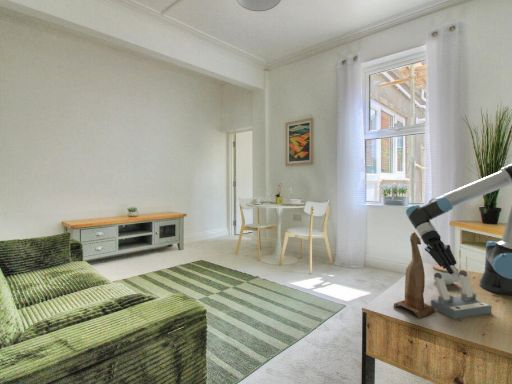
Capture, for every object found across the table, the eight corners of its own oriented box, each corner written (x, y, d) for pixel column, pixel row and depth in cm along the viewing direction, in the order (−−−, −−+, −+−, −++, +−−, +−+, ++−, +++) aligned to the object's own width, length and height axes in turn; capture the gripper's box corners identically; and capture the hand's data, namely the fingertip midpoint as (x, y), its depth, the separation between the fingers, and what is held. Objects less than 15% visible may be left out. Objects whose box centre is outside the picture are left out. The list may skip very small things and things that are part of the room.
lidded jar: (461, 287, 136) (462, 268, 135) (437, 285, 138) (438, 267, 137) (450, 279, 146) (451, 262, 146) (428, 277, 148) (429, 260, 148)
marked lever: (462, 299, 116) (456, 270, 118) (469, 298, 117) (462, 269, 119) (469, 300, 113) (462, 270, 116) (475, 299, 114) (468, 270, 117)
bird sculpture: (436, 313, 110) (440, 233, 109) (419, 319, 104) (423, 235, 103) (408, 302, 120) (412, 229, 119) (392, 307, 114) (395, 230, 113)
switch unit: (431, 307, 115) (431, 293, 114) (466, 302, 119) (466, 289, 119) (453, 319, 105) (454, 304, 105) (491, 313, 110) (491, 299, 110)
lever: (440, 302, 112) (430, 273, 117) (447, 301, 113) (437, 272, 118) (445, 302, 110) (436, 272, 114) (452, 301, 111) (443, 272, 115)
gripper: (434, 237, 138) (464, 283, 123) (412, 238, 134) (440, 285, 120) (444, 229, 132) (477, 275, 117) (422, 230, 129) (453, 278, 114)
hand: (458, 280), depth 118 cm, fingers closed
